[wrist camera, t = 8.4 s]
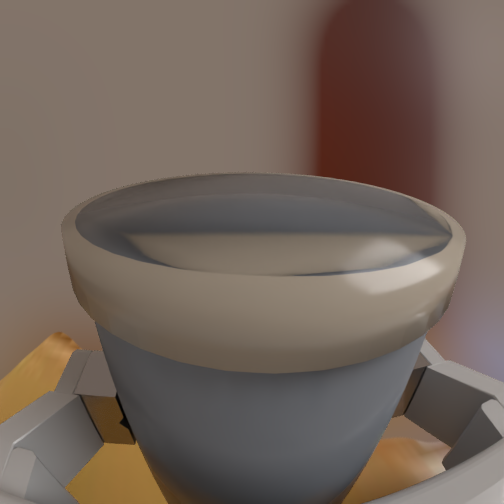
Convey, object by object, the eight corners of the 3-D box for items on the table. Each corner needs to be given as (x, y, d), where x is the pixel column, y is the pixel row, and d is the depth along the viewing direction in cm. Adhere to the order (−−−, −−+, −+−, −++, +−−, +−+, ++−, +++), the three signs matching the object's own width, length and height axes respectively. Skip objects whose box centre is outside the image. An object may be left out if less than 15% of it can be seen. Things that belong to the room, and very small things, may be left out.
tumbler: (164, 565, 5) (-39, 291, 2) (167, 427, 11) (124, 176, 8) (363, 541, 6) (548, 264, 3) (317, 416, 12) (356, 175, 9)
